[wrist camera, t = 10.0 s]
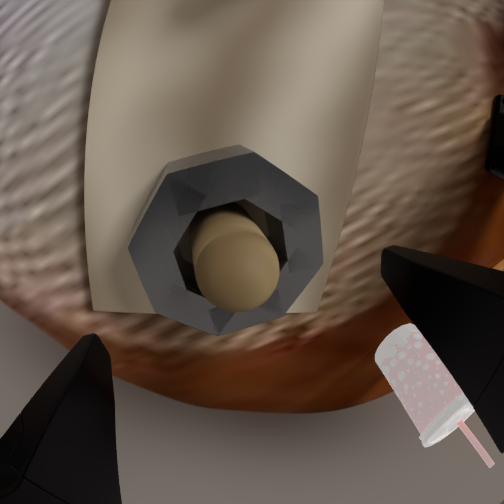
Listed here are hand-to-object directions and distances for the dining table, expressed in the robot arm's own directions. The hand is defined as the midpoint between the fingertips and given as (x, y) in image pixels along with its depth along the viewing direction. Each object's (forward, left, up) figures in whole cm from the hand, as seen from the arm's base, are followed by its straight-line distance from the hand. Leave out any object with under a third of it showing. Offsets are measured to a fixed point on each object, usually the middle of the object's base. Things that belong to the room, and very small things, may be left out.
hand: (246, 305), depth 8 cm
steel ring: (0, 0, -5) cm, 5 cm away
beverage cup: (-16, +9, -7) cm, 20 cm away
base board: (0, -7, -6) cm, 9 cm away
